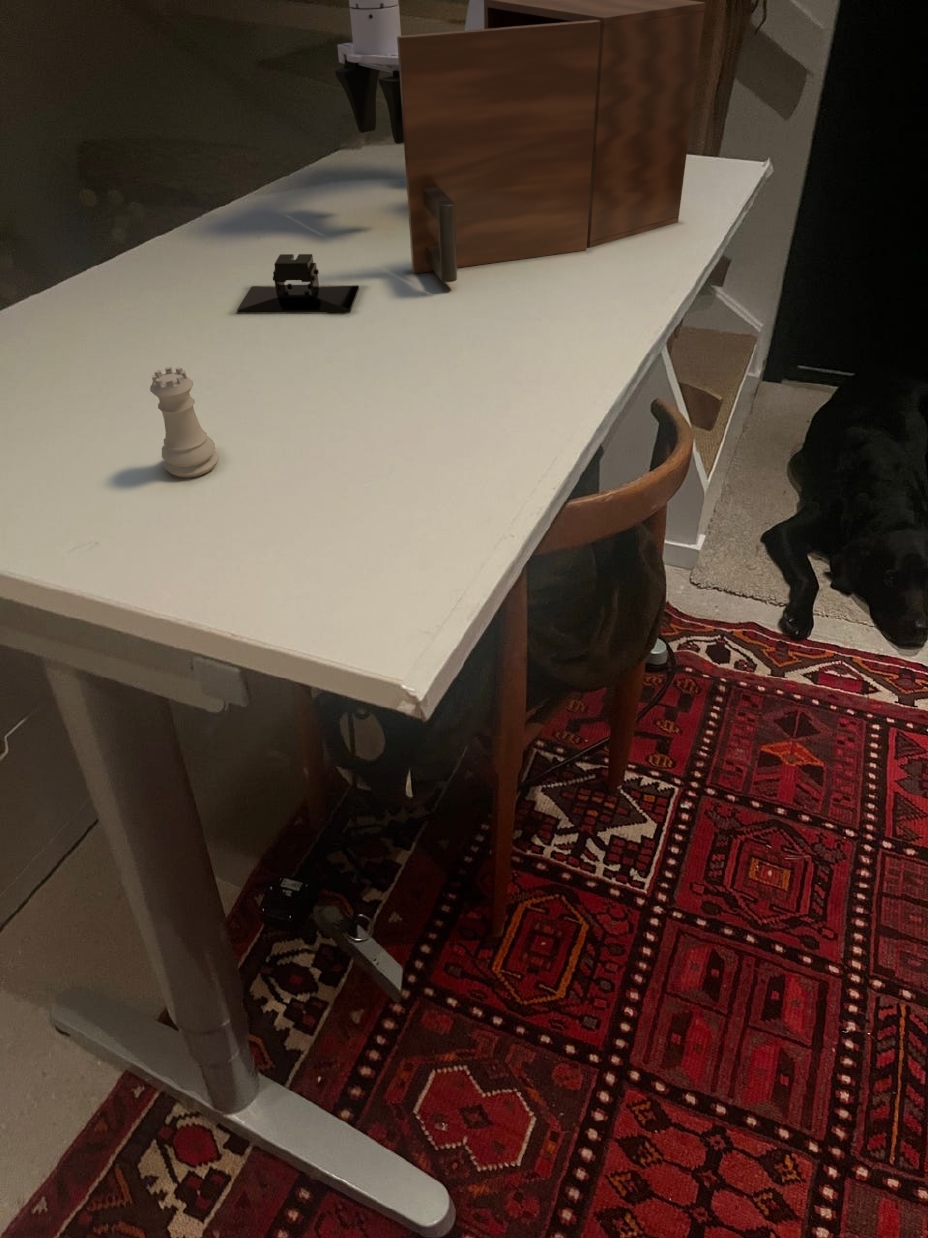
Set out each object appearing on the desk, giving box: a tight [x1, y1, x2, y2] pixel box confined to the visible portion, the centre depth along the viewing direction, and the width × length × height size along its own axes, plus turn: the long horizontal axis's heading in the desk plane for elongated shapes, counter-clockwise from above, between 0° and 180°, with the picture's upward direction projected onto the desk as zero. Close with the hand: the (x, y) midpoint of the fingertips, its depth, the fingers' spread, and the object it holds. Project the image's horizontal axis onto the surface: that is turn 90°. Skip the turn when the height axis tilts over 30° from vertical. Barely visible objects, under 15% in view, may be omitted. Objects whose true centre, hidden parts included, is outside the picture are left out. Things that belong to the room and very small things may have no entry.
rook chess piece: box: [149, 366, 220, 478], centre depth 71 cm, size 4×4×8 cm
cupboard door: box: [397, 20, 600, 283], centre depth 96 cm, size 8×22×23 cm, turn 107°
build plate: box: [236, 253, 360, 315], centre depth 98 cm, size 12×7×5 cm, turn 87°
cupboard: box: [484, 0, 706, 249], centre depth 111 cm, size 15×22×24 cm
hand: (384, 136), depth 112 cm, fingers open, 7 cm apart
